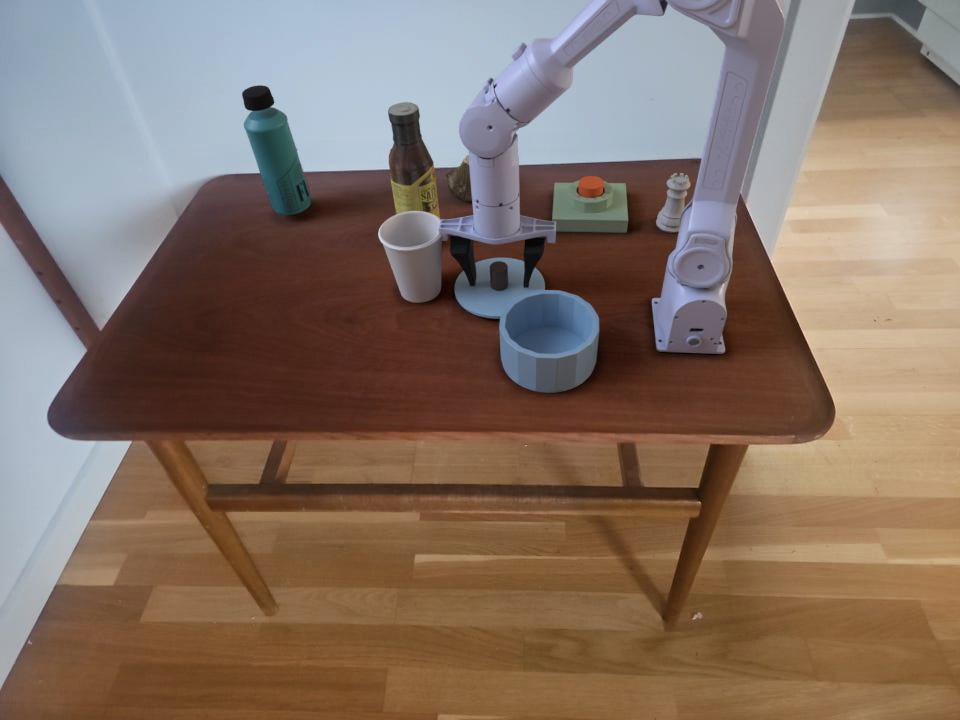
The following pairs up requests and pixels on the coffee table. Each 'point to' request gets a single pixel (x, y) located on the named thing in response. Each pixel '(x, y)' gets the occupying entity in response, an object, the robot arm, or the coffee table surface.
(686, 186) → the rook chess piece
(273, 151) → the beverage bottle
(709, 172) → the robot arm
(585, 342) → the tin
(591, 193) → the button
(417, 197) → the sauce bottle
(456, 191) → the fossilized seashell
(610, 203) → the switch block
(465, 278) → the tin lid
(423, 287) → the dixie cup
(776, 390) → the coffee table surface
